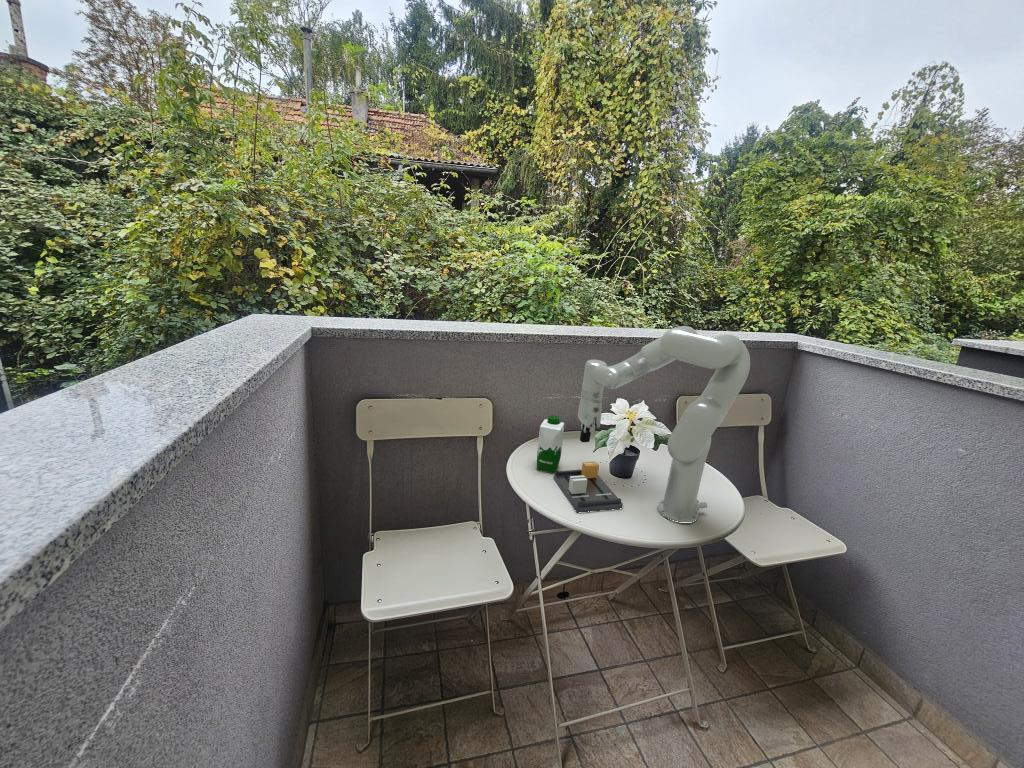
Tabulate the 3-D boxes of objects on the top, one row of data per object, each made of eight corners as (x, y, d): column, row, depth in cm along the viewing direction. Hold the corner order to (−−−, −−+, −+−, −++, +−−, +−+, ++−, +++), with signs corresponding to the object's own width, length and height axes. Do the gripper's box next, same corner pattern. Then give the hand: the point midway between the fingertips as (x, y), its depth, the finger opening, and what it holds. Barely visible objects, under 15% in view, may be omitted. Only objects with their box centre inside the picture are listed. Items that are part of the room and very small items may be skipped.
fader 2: (593, 473, 162) (595, 460, 160) (597, 477, 159) (599, 464, 158) (581, 474, 161) (582, 461, 159) (584, 478, 158) (586, 465, 156)
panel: (593, 475, 165) (594, 467, 164) (622, 508, 145) (623, 500, 144) (553, 478, 161) (554, 470, 160) (577, 513, 141) (578, 504, 140)
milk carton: (561, 465, 171) (566, 417, 165) (556, 475, 163) (562, 425, 157) (539, 460, 174) (544, 413, 168) (533, 470, 166) (538, 421, 160)
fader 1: (582, 488, 151) (583, 474, 150) (585, 493, 149) (587, 479, 147) (568, 489, 150) (570, 475, 149) (571, 494, 147) (573, 480, 146)
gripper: (610, 402, 151) (602, 450, 157) (592, 387, 164) (585, 432, 170) (590, 402, 149) (583, 451, 155) (573, 387, 162) (567, 432, 168)
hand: (584, 441), depth 162 cm, fingers closed
